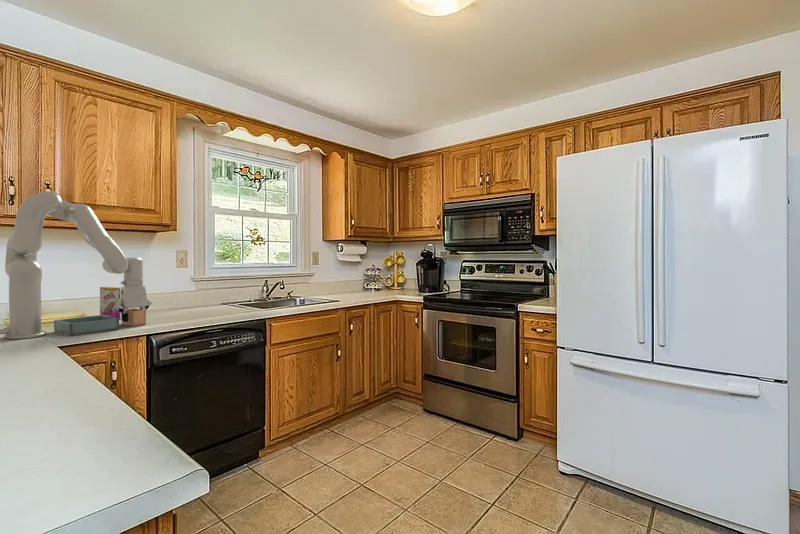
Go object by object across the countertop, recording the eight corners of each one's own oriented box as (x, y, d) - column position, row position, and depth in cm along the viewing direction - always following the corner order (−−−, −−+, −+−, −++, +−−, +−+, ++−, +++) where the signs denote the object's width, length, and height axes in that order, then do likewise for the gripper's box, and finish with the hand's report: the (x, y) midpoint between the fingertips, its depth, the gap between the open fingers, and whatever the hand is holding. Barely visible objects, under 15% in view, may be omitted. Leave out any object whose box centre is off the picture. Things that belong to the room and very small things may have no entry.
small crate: (132, 326, 190) (132, 311, 189) (121, 324, 195) (121, 309, 195) (145, 324, 195) (145, 310, 194) (135, 322, 200) (135, 308, 200)
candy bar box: (99, 319, 208) (99, 286, 207) (107, 317, 213) (107, 286, 212) (119, 319, 207) (119, 287, 206) (127, 318, 212) (127, 286, 211)
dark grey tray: (69, 336, 166) (69, 324, 166) (54, 331, 175) (54, 320, 175) (119, 329, 182) (118, 318, 182) (102, 325, 190) (102, 315, 190)
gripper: (116, 284, 185) (117, 324, 185) (156, 282, 199) (156, 319, 200) (109, 284, 189) (109, 322, 189) (148, 282, 203) (148, 317, 204)
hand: (133, 320), depth 195 cm, fingers open, 6 cm apart
